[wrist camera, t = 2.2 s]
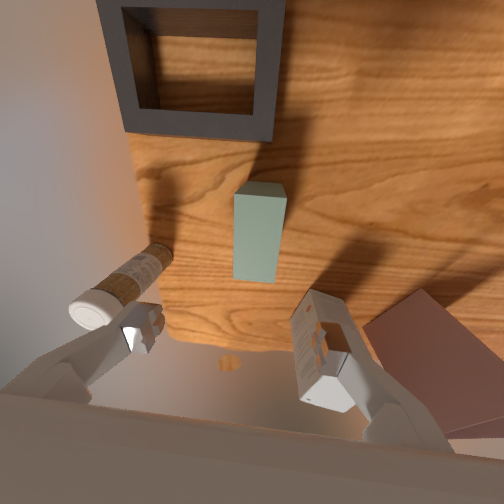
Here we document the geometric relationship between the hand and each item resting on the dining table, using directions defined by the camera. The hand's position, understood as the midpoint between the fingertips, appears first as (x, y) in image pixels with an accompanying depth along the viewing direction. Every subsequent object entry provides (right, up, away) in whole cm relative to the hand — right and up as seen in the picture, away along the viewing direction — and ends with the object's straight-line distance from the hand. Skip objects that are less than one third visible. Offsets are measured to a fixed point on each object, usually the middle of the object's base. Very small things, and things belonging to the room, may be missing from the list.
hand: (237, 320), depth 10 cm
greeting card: (+25, -6, +21) cm, 33 cm away
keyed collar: (-4, +22, +10) cm, 24 cm away
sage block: (+2, +9, +16) cm, 18 cm away
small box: (+12, -7, +23) cm, 27 cm away
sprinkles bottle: (-14, +3, +21) cm, 25 cm away
